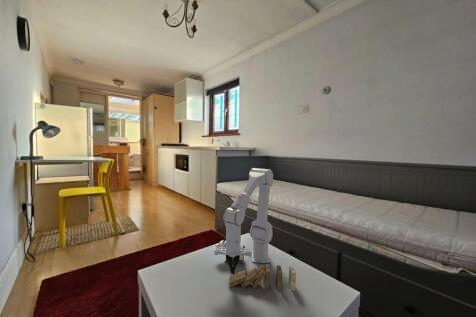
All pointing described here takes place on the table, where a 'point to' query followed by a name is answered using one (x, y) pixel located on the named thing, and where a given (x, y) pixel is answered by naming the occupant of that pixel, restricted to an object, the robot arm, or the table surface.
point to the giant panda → (223, 244)
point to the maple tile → (292, 278)
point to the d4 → (267, 277)
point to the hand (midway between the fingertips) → (232, 272)
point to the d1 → (237, 278)
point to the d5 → (279, 277)
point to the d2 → (250, 277)
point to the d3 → (259, 276)
